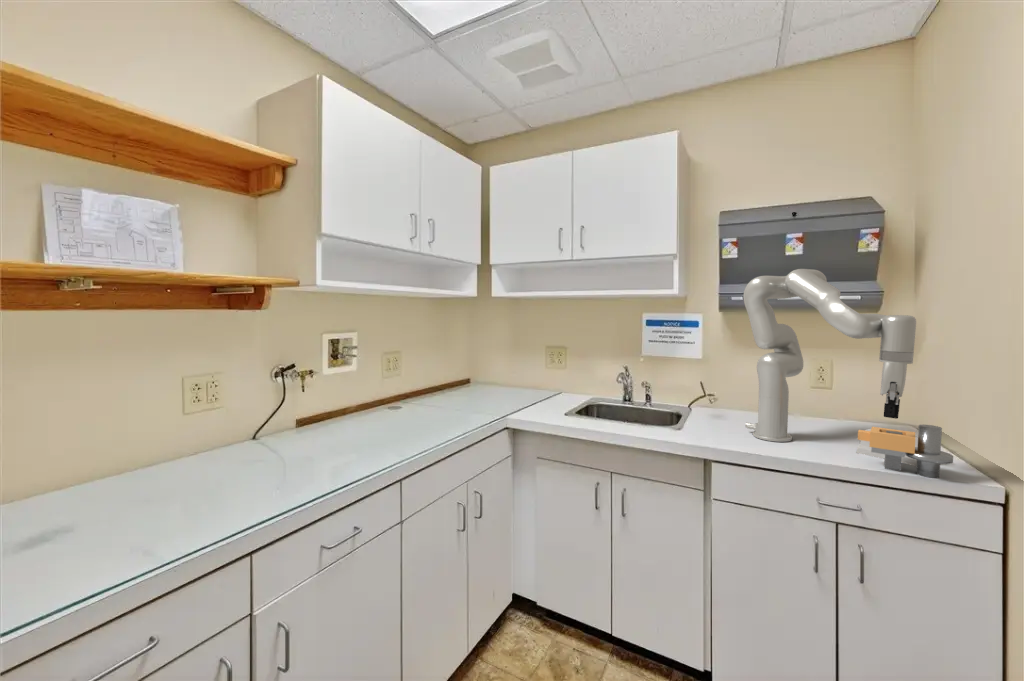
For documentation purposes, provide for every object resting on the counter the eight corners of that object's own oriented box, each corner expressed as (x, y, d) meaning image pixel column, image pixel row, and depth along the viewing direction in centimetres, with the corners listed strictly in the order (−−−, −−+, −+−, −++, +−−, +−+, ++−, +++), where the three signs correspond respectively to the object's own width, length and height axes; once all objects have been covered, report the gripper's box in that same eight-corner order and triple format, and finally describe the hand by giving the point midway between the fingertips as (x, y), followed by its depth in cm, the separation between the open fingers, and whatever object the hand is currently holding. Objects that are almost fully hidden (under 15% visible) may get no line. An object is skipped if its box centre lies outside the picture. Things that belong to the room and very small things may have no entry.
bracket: (914, 447, 132) (915, 432, 132) (914, 453, 126) (915, 438, 126) (859, 439, 141) (859, 424, 140) (856, 444, 135) (857, 430, 134)
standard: (950, 474, 128) (953, 426, 127) (953, 484, 120) (956, 433, 119) (872, 460, 140) (874, 416, 139) (870, 469, 132) (872, 422, 131)
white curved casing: (855, 452, 148) (860, 423, 149) (860, 454, 150) (865, 425, 152) (921, 467, 134) (926, 434, 135) (925, 469, 136) (931, 437, 138)
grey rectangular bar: (884, 468, 133) (886, 432, 132) (884, 466, 135) (886, 430, 134) (900, 471, 131) (902, 434, 130) (900, 468, 132) (902, 432, 132)
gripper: (881, 353, 140) (876, 407, 141) (877, 358, 127) (873, 417, 128) (913, 355, 135) (908, 411, 136) (913, 361, 122) (908, 422, 123)
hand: (891, 414), depth 132 cm, fingers open, 9 cm apart
